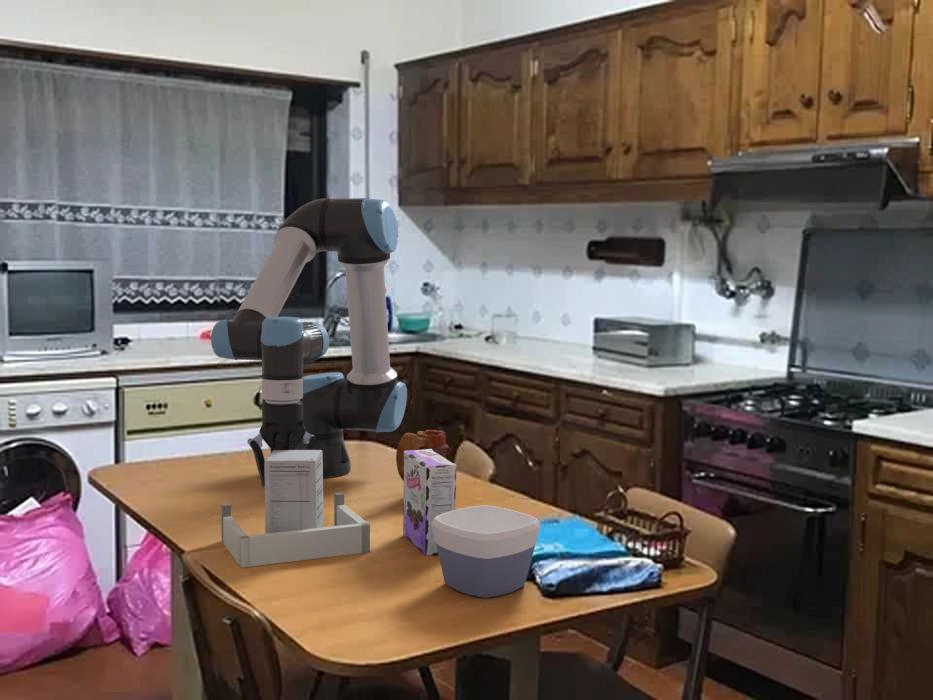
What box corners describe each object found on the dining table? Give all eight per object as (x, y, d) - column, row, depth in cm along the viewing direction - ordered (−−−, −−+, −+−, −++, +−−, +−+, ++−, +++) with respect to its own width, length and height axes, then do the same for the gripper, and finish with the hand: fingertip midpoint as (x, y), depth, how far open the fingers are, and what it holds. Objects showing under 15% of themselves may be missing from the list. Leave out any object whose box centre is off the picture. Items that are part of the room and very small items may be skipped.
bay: (221, 541, 191) (221, 503, 190) (341, 527, 201) (341, 492, 200) (241, 567, 177) (240, 527, 176) (369, 551, 186) (370, 513, 185)
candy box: (401, 535, 197) (402, 449, 195) (431, 532, 199) (432, 447, 197) (424, 556, 184) (425, 465, 182) (456, 553, 186) (457, 463, 184)
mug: (430, 489, 231) (430, 423, 230) (458, 496, 226) (459, 428, 224) (384, 502, 220) (384, 432, 218) (412, 509, 215) (413, 437, 213)
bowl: (418, 584, 170) (418, 517, 169) (484, 564, 181) (485, 501, 179) (485, 609, 159) (486, 538, 158) (551, 586, 170) (553, 519, 168)
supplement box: (325, 538, 194) (324, 449, 192) (318, 553, 185) (317, 460, 183) (273, 537, 194) (272, 448, 192) (264, 552, 185) (263, 459, 183)
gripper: (252, 405, 187) (253, 533, 189) (322, 401, 192) (322, 526, 195) (242, 399, 193) (243, 523, 196) (311, 395, 199) (311, 516, 202)
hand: (283, 524), depth 195 cm, fingers closed
